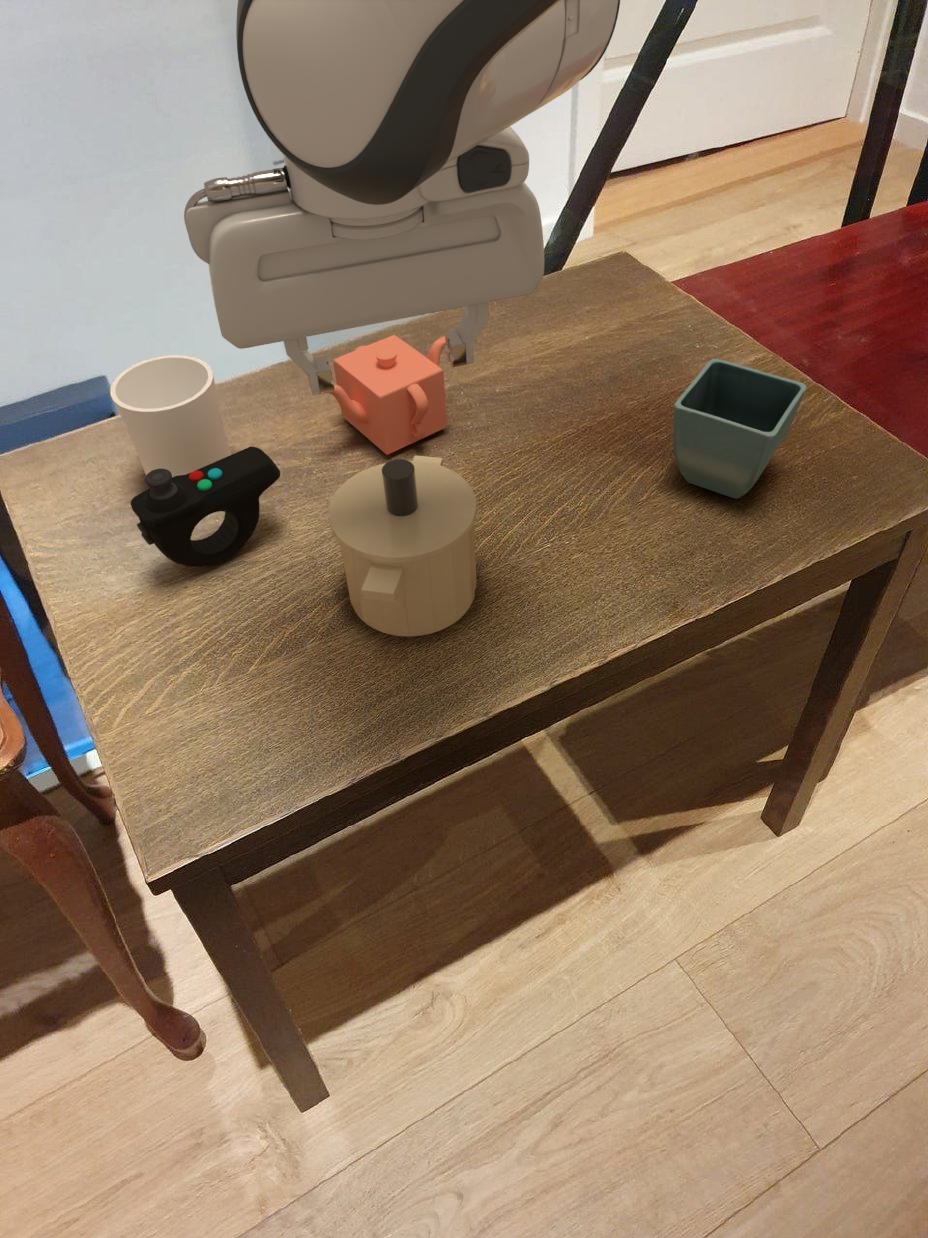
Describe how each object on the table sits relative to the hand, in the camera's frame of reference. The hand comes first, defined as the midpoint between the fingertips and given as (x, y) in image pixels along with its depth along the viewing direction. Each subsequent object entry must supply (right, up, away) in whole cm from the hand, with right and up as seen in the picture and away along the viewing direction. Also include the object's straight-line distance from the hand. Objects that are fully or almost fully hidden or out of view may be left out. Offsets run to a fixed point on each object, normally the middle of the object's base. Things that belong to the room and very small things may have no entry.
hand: (392, 374), depth 59 cm
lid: (0, -8, +8) cm, 12 cm away
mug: (-22, -2, +27) cm, 35 cm away
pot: (+1, -14, +15) cm, 20 cm away
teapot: (-2, +3, +31) cm, 31 cm away
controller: (-16, -10, +19) cm, 27 cm away
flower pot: (+29, -3, +23) cm, 37 cm away
